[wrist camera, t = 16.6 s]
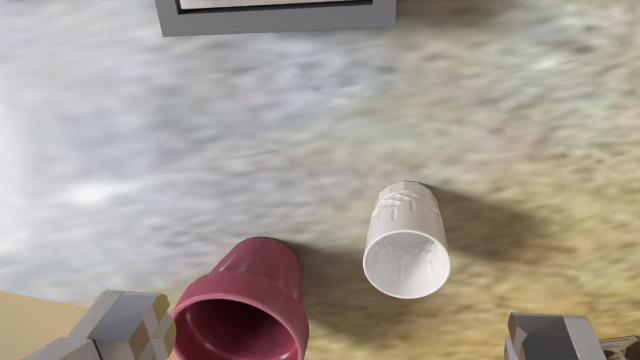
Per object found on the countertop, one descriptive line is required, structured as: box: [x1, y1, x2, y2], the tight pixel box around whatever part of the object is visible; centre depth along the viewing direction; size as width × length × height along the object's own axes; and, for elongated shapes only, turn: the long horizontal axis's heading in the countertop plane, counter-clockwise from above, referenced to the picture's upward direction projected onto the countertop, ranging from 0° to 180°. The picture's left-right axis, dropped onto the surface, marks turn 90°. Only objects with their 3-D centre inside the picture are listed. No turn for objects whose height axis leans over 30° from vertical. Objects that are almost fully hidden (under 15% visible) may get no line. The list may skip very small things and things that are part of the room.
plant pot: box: [171, 237, 309, 360], centre depth 54 cm, size 14×14×13 cm
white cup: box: [363, 181, 451, 299], centre depth 48 cm, size 8×8×10 cm
